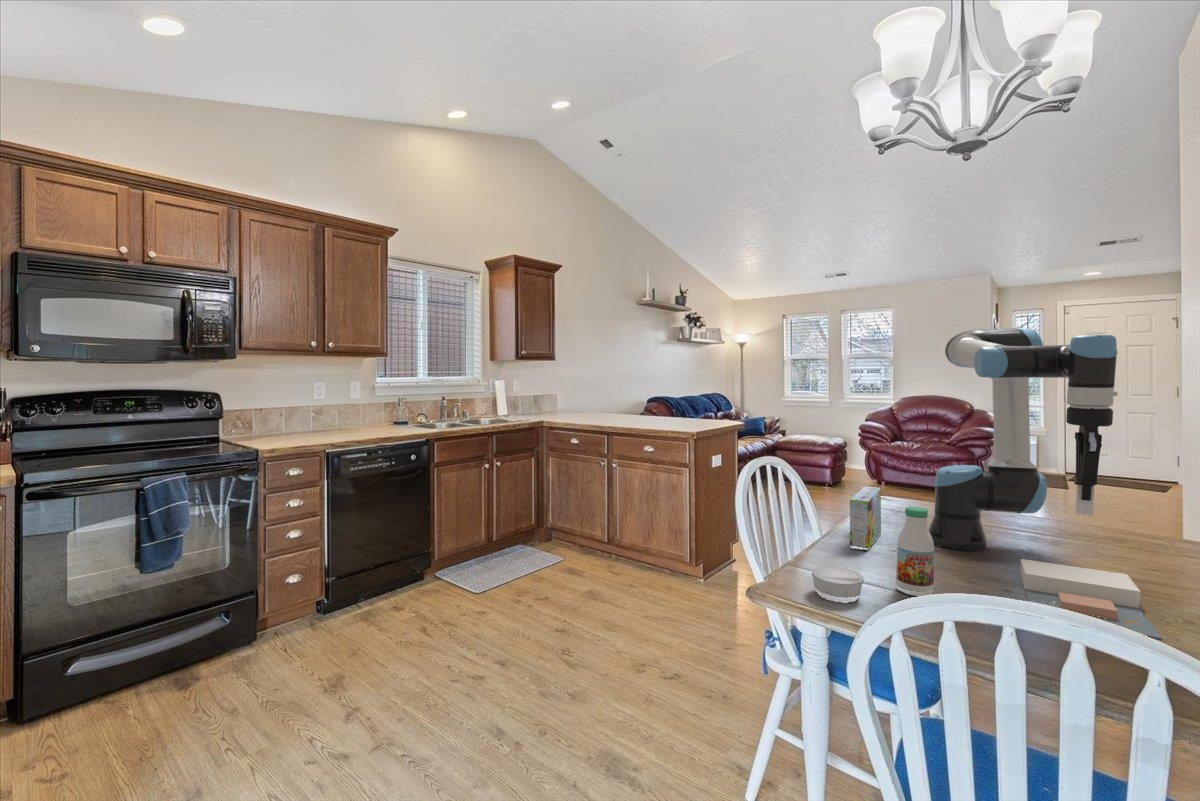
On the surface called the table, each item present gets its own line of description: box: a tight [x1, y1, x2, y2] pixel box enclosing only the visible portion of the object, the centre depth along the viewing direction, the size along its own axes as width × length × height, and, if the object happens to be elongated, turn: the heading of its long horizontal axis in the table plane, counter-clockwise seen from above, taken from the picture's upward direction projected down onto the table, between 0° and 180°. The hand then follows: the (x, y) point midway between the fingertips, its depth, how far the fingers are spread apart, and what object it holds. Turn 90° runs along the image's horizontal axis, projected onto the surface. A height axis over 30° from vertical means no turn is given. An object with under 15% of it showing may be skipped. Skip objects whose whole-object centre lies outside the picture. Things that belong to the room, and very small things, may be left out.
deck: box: [1019, 558, 1141, 609], centre depth 132 cm, size 20×12×4 cm, turn 57°
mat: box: [1024, 589, 1162, 640], centre depth 120 cm, size 20×16×1 cm
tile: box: [1057, 592, 1118, 620], centre depth 120 cm, size 9×6×2 cm, turn 57°
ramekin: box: [811, 565, 865, 598], centre depth 130 cm, size 11×11×5 cm
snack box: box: [849, 485, 882, 549], centre depth 170 cm, size 21×6×15 cm, turn 144°
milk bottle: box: [895, 506, 935, 592], centre depth 131 cm, size 8×8×20 cm
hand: (1083, 513), depth 122 cm, fingers closed
